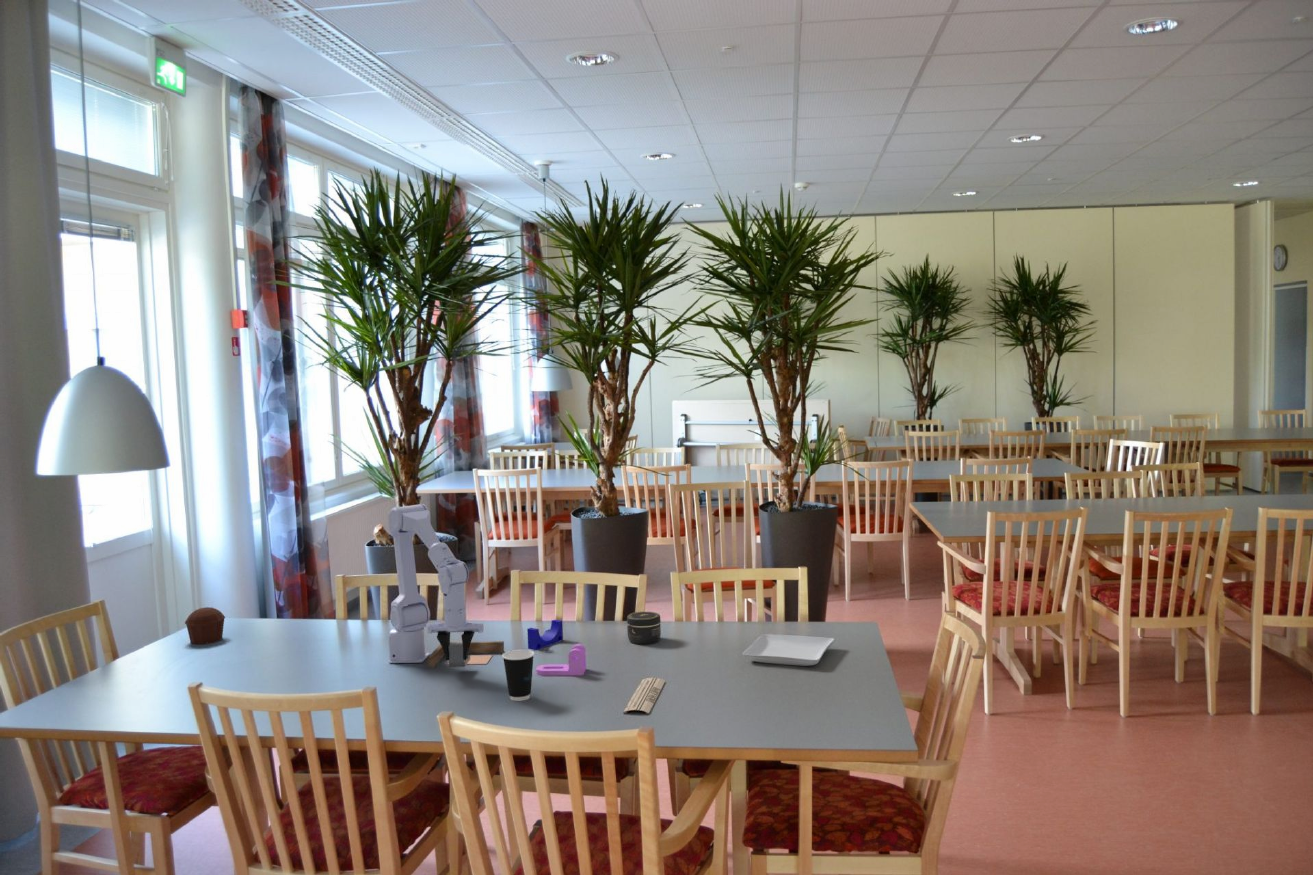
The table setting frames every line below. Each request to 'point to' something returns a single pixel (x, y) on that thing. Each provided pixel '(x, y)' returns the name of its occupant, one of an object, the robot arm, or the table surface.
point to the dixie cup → (519, 673)
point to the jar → (643, 627)
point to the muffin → (205, 625)
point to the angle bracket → (457, 655)
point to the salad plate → (788, 649)
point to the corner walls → (474, 648)
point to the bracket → (573, 668)
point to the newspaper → (645, 695)
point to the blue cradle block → (545, 636)
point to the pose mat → (478, 659)
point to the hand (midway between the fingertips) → (456, 658)
